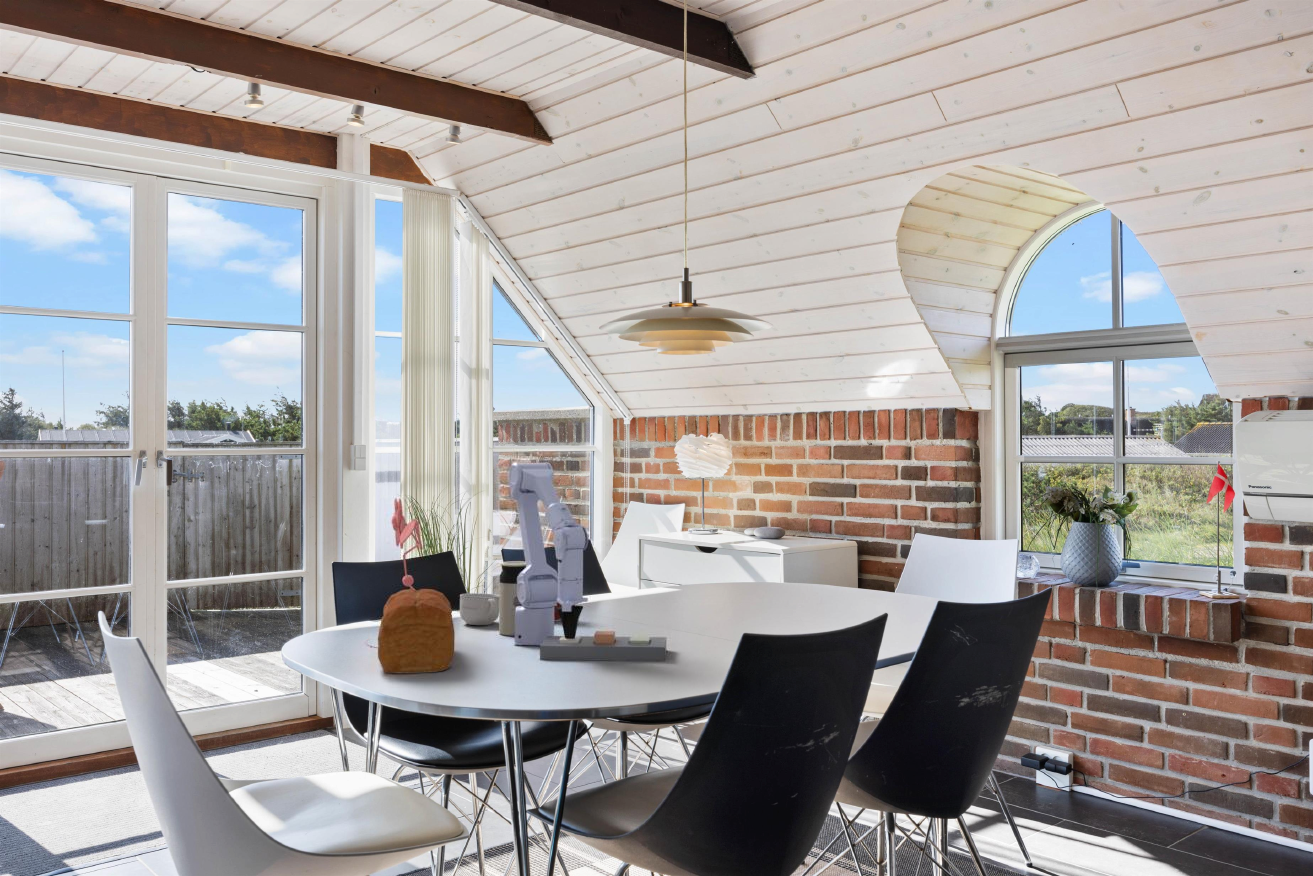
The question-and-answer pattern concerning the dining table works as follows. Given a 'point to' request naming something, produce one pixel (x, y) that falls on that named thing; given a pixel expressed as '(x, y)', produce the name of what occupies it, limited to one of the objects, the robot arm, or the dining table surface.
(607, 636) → the rust button
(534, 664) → the dining table surface
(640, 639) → the sage button
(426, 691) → the dining table surface
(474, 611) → the teacup
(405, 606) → the bread
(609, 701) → the dining table surface
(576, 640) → the cream button
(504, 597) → the travel mug
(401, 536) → the figurine
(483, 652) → the dining table surface
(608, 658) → the button panel
